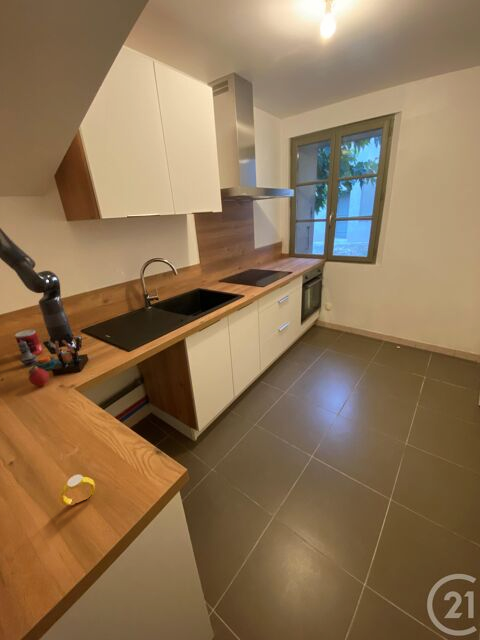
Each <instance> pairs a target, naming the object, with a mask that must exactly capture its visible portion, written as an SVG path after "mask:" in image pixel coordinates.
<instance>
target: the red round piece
mask: <svg viewBox="0 0 480 640" xmlns="http://www.w3.org/2000/svg"><path fill="white" fill-rule="evenodd" d="M49 379H50V374H49V371H46V370H44V369H39V368H38V367H35V368H34V370H33V371H32V372H31V374H30V373H29V375H28V380H29V382H30V384H32V385H33V386H37V387H39V386H40V387H41V386H42V387H43V386H44V385H45V384H47V382H48V381H49Z"/></svg>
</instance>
